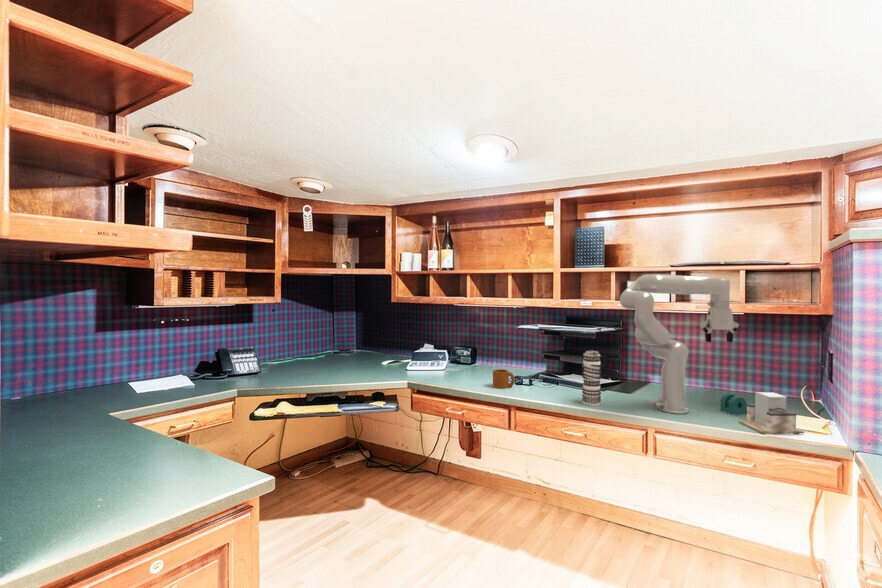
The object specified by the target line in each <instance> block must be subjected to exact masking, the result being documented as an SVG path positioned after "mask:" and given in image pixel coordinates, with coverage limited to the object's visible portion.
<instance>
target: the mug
mask: <svg viewBox="0 0 882 588" xmlns="http://www.w3.org/2000/svg"><path fill="white" fill-rule="evenodd" d="M509 377H510V378H511V382H510V378H509ZM515 381H516V378H515V375H514V373H513V372H511V371H509V370H507V369H492V388H494V389H499V390H500V389H501V390H503V389H505V390H506V389H508V388H511V387H512V386H514V385H515V383H516V382H515Z"/></svg>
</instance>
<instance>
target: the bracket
mask: <svg viewBox="0 0 882 588" xmlns="http://www.w3.org/2000/svg"><path fill="white" fill-rule="evenodd" d="M747 404H748V403H747V401H746V399H745V398H743V397H741V396H737V395H734V394H732V393H725V394H723V395H722V396H721V398H720V410H721V412H723V411H724V412H723V413H725V412H727V413H726V414H728V413H730V414H729V415H731V414H746V415H747Z"/></svg>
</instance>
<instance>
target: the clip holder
mask: <svg viewBox="0 0 882 588" xmlns="http://www.w3.org/2000/svg"><path fill="white" fill-rule="evenodd" d="M746 404H747V414H746V419H745V420H744V419H743V420H742V419H738V424H740V423H741V425H742V426H745V427H747V428H748V429H751V430H753V431H755V432H757V433H759V434H762V435H790V434H789V433H794V434H793V435H798V434H797V433H804V434H805V430H802V429H799V428H797V413H796V412H793V411H792V412H791V411H790V412H789V411H786V412H767V428H765V427H763V426H761V425H759V424H757V423H755V403H746ZM796 428H797V429H796ZM785 433H787V434H785Z"/></svg>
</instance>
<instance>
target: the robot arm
mask: <svg viewBox="0 0 882 588" xmlns="http://www.w3.org/2000/svg"><path fill="white" fill-rule="evenodd" d="M730 284H731V282H730V279H728V278H719V277H710V276H709V277H705V276H693V275H692V276H691V275H680V274H679V275H675V274H660V273H659V274H658V273H657V274H643V275H641V276H639V277H638V278H636V279H635V281H633V282H632V283H631V284H630V285H629V286H628V287H626V288H625V289H624V291H623V292H622V293H621V295H620V297H619V302H620V306H621V307H623V308H624V309H627V310H635V311H634V315H633V317H634V320H633V321H634V325H635V326H636V328H635V333H634V334H635V339H636V340H637V341H638V343H639V345H641V346H642V347H643V348H644V349H645V350H646V351H647V352H648V353H649V354H650V355H652V357H655V358H657V359H661V360H664V362H663V364H662V366H661V373H660V374H661V375H660V376H661V377H660V379H661V381H660V398H658V399H657V400H649V404H650V405H651V406H656V409H658V411H661V412H664V413H669V414H677V415H678V414H679V415H680V414H681V415H683V414H688V413H689V411H690V410H689V408H688V407H686V406H685V405H686V403H685V401H686V399H685V398H686V366H687V360H688V357H689V348H688V347H687V345H685V343H683V342H681V341H679V340H674V339H671V337H672V336H671V334H670V332H669V331H668V329H667V328H666V327H665V326H664V325H663V324H662V323H661V322H660V320H658V319H657V317H655V315H654V306H655V298H654V296H653V294H663V295H664V294H667V295H669V294H670V295H710V296H709V299H710V300H709V302H707V306H709V307H708V310H707V312H706V313H707V314H706V320H705V321H703V322H701V323H699V326H700V328H701V331H703V333H705V335H704V336H705V337H704V340H705V342H707V343H711V342H712V332H713V330H715V331H721V330H722V331H726V342H727V343H733V340H734V334H735V332H736V331H737V330H738V328H739V326H740V323H737V322H736V321H734V315H733V311H732V307H730V297H731V296H730V289H731V288H730V287H731V285H730Z"/></svg>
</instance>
